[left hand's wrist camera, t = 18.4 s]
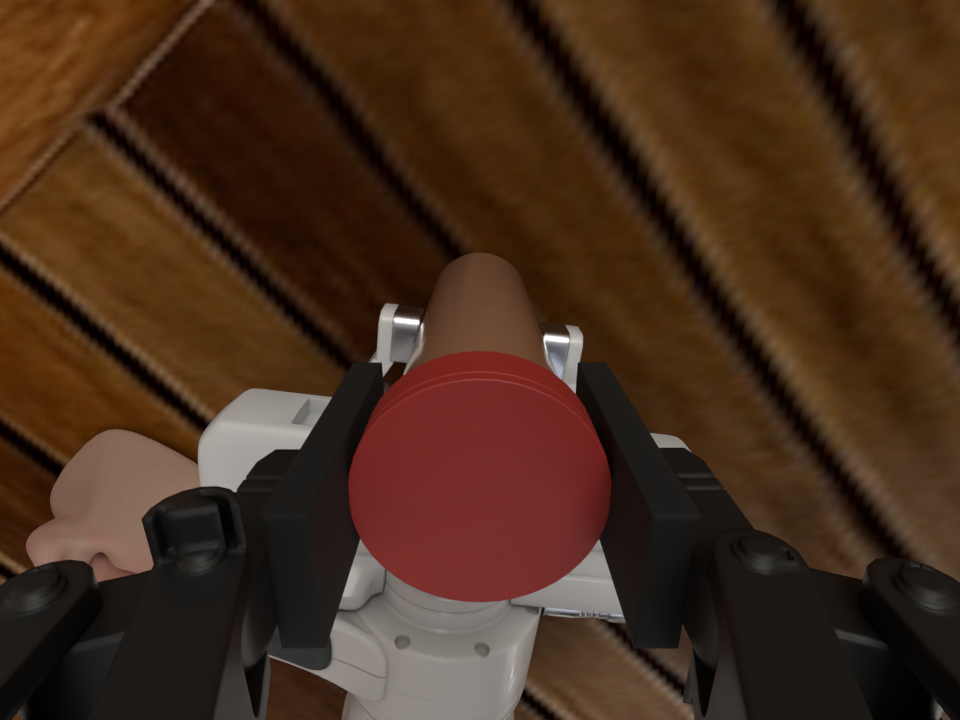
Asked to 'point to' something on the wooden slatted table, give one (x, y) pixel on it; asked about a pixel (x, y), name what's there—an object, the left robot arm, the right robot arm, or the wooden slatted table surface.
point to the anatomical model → (110, 503)
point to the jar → (479, 314)
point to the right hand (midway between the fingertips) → (481, 318)
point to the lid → (479, 478)
